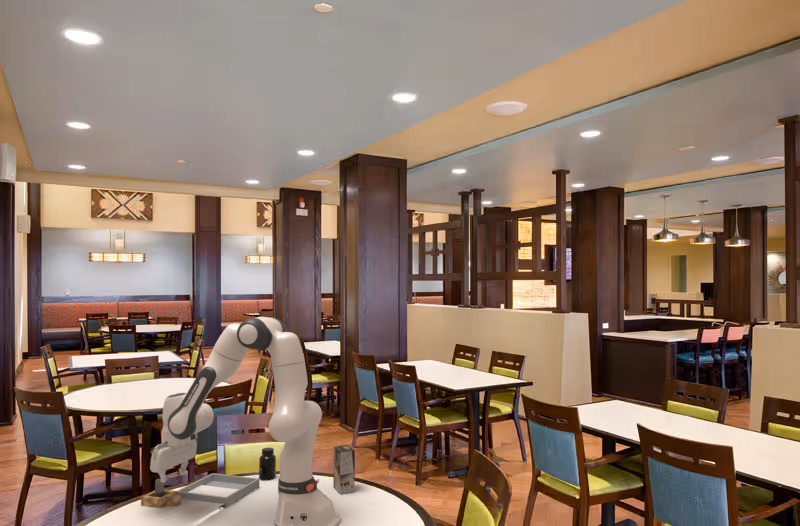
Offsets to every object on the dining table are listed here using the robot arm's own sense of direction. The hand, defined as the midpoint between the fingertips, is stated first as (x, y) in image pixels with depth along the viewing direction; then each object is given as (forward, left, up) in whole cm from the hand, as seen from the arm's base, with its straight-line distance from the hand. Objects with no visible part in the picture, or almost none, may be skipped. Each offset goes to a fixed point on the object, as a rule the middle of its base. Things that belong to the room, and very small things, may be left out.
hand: (173, 477), depth 198 cm
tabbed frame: (+4, 0, -9) cm, 10 cm away
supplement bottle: (-15, -39, -11) cm, 43 cm away
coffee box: (-51, -36, -11) cm, 63 cm away
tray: (-7, -17, -11) cm, 21 cm away
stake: (+6, 0, -11) cm, 12 cm away
